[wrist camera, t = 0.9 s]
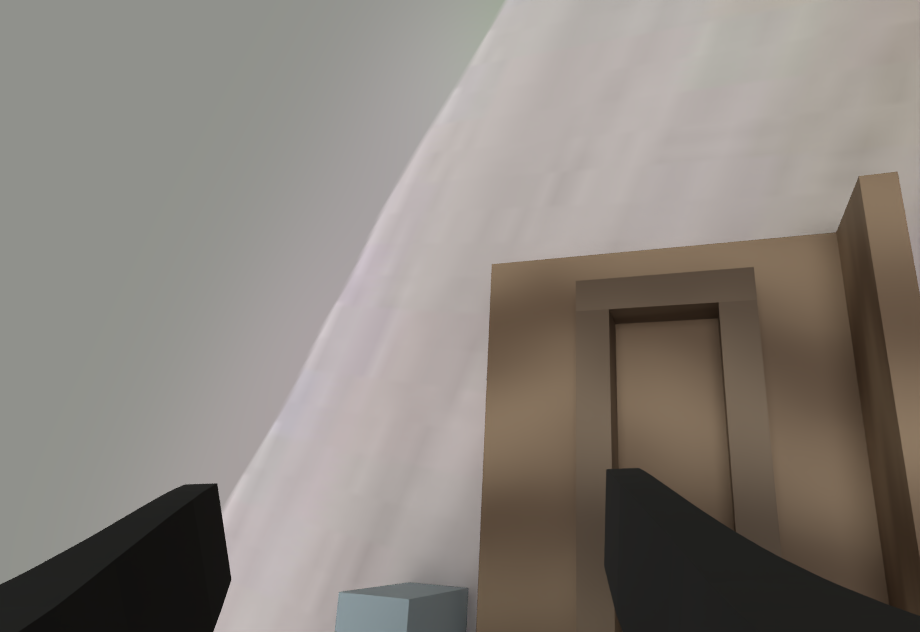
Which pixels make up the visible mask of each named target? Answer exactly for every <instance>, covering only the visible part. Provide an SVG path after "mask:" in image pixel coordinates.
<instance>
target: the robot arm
mask: <svg viewBox="0 0 920 632" xmlns="http://www.w3.org/2000/svg"><path fill="white" fill-rule="evenodd" d="M604 568H605V572H606V576H607V580H608V584H609V588H610V592H611V596H612V600H613V604H614V608H615V611H616V615H617V618H618V621H619V623H620V626H621V629H622V631H623V632H920V616H919V615H916V614H913V613H910V612H907V611H905V610H902V609H899V608H896V607H893V606H890V605H888V604H885V603H883V602H880V601H878V600H875V599H873V598H870V597H868V596H865V595H863V594H860V593H858V592H855V591H853V590H850V589H848V588H845V587H843V586H840V585H838V584H836V583H833V582H831V581H829V580H827V579H824V578H822V577H820V576H818V575H816V574H814V573H812V572H809V571H807V570H805V569H803V568H801V567H799V566H797V565H795V564H793V563H791V562H789V561H787V560H785V559H783V558H781V557H779V556H777V555H775V554H773V553H772V552H770V551H768V550H766V549H764V548H762V547H761V546H759V545H757V544H756V543H754V542H752V541H750V540H749V539H747V538H745V537H744V536H742V535H740V534H739V533H737V532H735V531H733V530H732V529H730V528H729V527H727V526H726V525H724V524H722V523H721V522H719V521H718V520H716V519H715V518H713V517H711V516H710V515H708V514H707V513H705V512H704V511H702V510H701V509H699V508H698V507H696V506H695V505H694V504H692V503H691V502H689V501H688V500H686V499H685V498H683V497H682V496H680V495H679V494H678V493H676V492H675V491H673V490H672V489H670V488H669V487H668V486H666V485H665V484H663V483H662V482H660V481H659V480H658V479H656V478H655V477H653V476H652V475H650V474H649V473H647V472H646V471H644V470H642V469H640V468H622V469H606V500H605V547H604ZM230 582H231V574H230V567H229V560H228V554H227V547H226V540H225V533H224V527H223V520H222V513H221V506H220V500H219V493H218V486H217V484H190V485H183V486H181V487H178V488H176V489H174V490H172V491H170V492H168V493H166V494H164V495H162V496H160V497H159V498H157V499H155V500H153V501H151V502H150V503H148V504H146V505H144V506H143V507H141V508H139V509H137V510H136V511H134V512H132V513H131V514H129V515H127V516H125V517H124V518H122V519H120V520H119V521H117V522H115V523H114V524H112V525H110V526H108V527H107V528H105V529H103V530H102V531H100V532H98V533H97V534H95V535H93V536H91V537H89V538H88V539H86V540H84V541H82V542H80V543H79V544H77V545H75V546H74V547H71V548H69V549H68V550H66V551H64V552H62V553H60V554H58V555H56V556H55V557H53V558H51V559H49V560H47V561H45V562H44V563H42V564H40V565H38V566H36V567H35V568H33V569H31V570H29V571H27V572H25V573H23V574H21V575H19V576H17V577H15V578H13V579H11V580H9V581H7V582H5V583H2V584H1V585H0V632H213V631H214V628H215V625H216V623H217V620H218V617H219V614H220V612H221V609H222V606H223V603H224V600H225V597H226V594H227V591H228V588H229V585H230Z"/></svg>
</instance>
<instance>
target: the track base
mask: <svg viewBox="0 0 920 632" xmlns="http://www.w3.org/2000/svg"><path fill="white" fill-rule="evenodd" d="M622 468H640V469H642V470H644V471H646V472H647V473H649V474H650V475H652V476H653V477H655V478H656V479H658V480H659V481H660V482H662V483H663V484H665V485H666V486H668V487H669V488H670V489H672V490H673V491H675V492H676V493H678V494H679V495H680V496H682V497H683V498H685V499H686V500H688V501H689V502H691V503H692V504H694V505H695V506H696V507H698V508H699V509H701V510H702V511H704V512H705V513H707V514H708V515H710V516H711V517H713V518H715V519H716V520H718V521H719V522H721V523H722V524H724V525H726V526H727V527H729V528H730V529H732V530H733V531H735V532H737V533H739V534H740V535H742V536H744V537H745V538H747V539H749V540H750V541H752V542H754V543H756V544H757V545H759V546H761V547H762V548H764V549H766V550H768V551H770V552H772V553H773V554H775V555H777V556H779V557H781V558H783V559H785V560H787V561H789V562H791V563H793V564H795V565H797V566H799V567H801V568H803V569H805V570H807V571H809V572H812V573H814V574H816V575H818V576H820V577H822V578H824V579H827V580H829V581H831V582H833V583H836V584H838V585H840V586H843V587H845V588H848V589H850V590H853V591H855V592H858V593H860V594H863V595H865V596H868V597H870V598H873V599H875V600H878V601H880V602H883V603H885V604H888V605H890V606H893V607H896V608H899V609H902V610H905V611H907V612H910V613H913V614H916V615H919V616H920V293H919V288H918V282H917V277H916V271H915V266H914V260H913V254H912V249H911V243H910V238H909V232H908V227H907V221H906V216H905V210H904V205H903V199H902V194H901V188H900V183H899V177H898V172H891V173H882V174H874V175H865V176H859V177H858V180H857V182H856V185H855V187H854V190H853V192H852V195H851V197H850V200H849V202H848V205H847V207H846V210H845V212H844V215H843V217H842V220H841V222H840V225H839V227H838V230H837V232H836V233H825V234H814V235H804V236H793V237H782V238H771V239H760V240H750V241H739V242H728V243H717V244H706V245H696V246H685V247H674V248H663V249H653V250H642V251H631V252H620V253H609V254H599V255H588V256H577V257H566V258H555V259H545V260H534V261H523V262H512V263H501V264H492V273H491V297H490V320H489V343H488V367H487V390H486V413H485V437H484V460H483V483H482V507H481V530H480V553H479V577H478V600H477V623H476V632H623V631H622V629H621V626H620V623H619V621H618V618H617V615H616V611H615V608H614V604H613V600H612V596H611V592H610V588H609V584H608V580H607V576H606V572H605V568H604V547H605V500H606V469H622Z"/></svg>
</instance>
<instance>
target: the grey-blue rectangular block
mask: <svg viewBox="0 0 920 632" xmlns="http://www.w3.org/2000/svg"><path fill="white" fill-rule="evenodd" d="M467 604H468V588H463V587H452V586H441V585H431V584H420V583H402V584H395V585H387V586H380V587H373V588H365V589H358V590H350V591H343V592H339V597H338V607H337V616H336V626H335V632H466V625H467Z"/></svg>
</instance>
